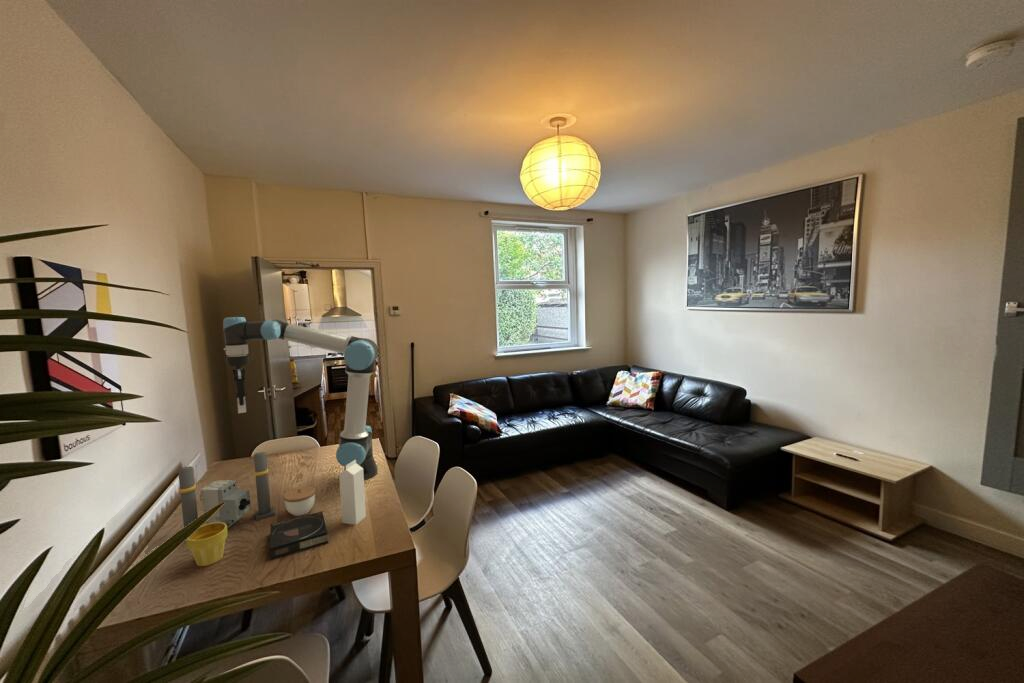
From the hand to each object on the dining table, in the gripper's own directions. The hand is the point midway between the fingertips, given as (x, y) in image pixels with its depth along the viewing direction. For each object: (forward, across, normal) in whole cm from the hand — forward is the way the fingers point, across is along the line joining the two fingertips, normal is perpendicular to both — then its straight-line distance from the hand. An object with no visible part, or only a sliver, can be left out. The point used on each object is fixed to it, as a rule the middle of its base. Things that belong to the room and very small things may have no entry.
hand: (242, 412), depth 165 cm
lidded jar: (+37, +27, +15) cm, 48 cm away
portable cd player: (+37, +46, +12) cm, 61 cm away
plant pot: (+37, +42, -13) cm, 57 cm away
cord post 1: (+36, +20, -18) cm, 45 cm away
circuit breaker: (+37, +20, -7) cm, 42 cm away
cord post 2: (+36, +20, +4) cm, 42 cm away
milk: (+37, +46, +30) cm, 66 cm away
